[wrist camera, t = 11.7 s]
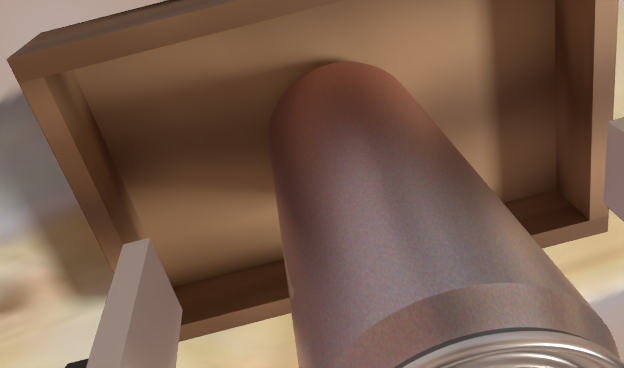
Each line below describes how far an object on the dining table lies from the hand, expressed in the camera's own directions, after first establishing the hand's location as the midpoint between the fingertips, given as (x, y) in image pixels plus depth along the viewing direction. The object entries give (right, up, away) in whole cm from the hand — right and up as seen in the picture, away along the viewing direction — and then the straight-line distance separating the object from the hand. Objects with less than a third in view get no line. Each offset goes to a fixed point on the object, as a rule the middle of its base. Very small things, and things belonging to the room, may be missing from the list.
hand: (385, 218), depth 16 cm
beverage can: (-1, +3, +7) cm, 8 cm away
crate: (-1, +4, +7) cm, 8 cm away
